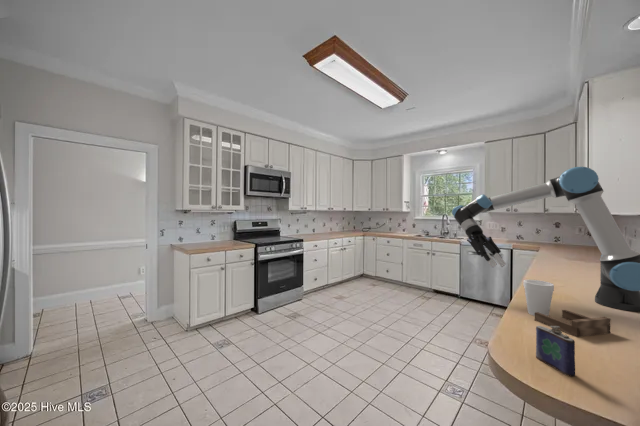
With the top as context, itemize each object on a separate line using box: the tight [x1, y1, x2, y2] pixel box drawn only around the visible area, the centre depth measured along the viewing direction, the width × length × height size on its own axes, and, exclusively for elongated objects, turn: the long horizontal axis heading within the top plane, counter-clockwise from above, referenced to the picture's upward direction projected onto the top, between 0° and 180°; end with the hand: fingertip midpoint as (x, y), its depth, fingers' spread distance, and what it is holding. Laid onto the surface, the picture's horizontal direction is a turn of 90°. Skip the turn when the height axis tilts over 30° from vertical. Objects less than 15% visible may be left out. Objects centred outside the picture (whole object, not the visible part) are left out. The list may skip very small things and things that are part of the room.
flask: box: [535, 325, 576, 378], centre depth 67 cm, size 9×3×11 cm, turn 8°
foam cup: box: [522, 279, 555, 317], centre depth 103 cm, size 10×9×13 cm
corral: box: [534, 309, 611, 338], centre depth 92 cm, size 15×14×5 cm
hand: (499, 265), depth 121 cm, fingers open, 4 cm apart
